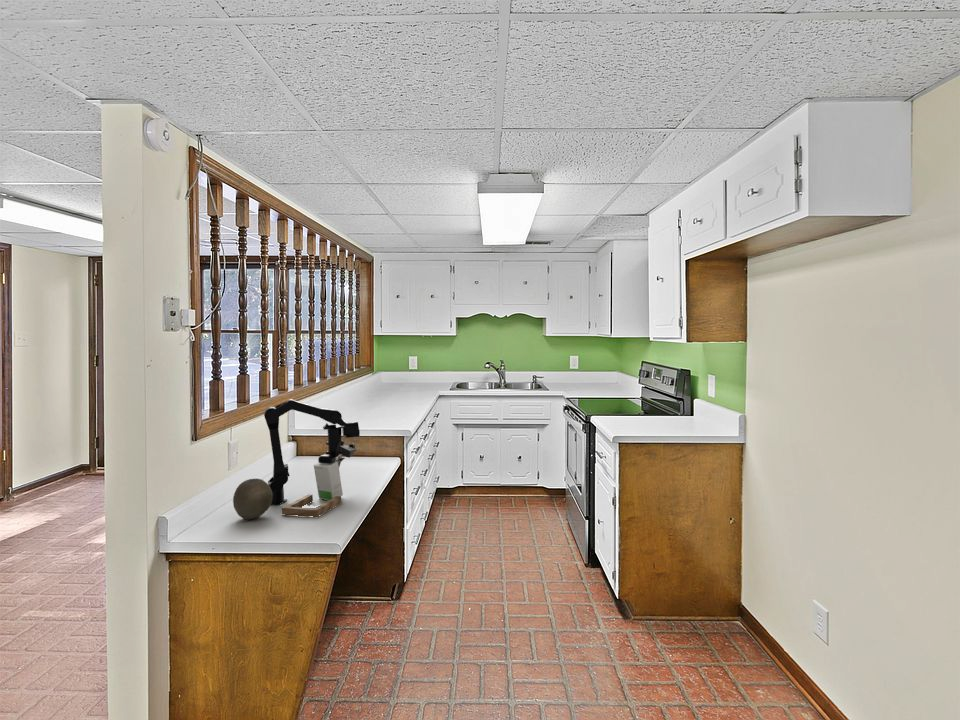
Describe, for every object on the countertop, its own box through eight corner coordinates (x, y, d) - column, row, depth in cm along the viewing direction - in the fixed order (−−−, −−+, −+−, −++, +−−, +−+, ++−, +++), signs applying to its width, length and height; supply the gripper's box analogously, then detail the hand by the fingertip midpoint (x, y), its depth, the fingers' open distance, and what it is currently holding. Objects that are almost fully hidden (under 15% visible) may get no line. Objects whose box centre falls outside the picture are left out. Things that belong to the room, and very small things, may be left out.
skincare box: (318, 499, 257) (312, 465, 254) (329, 492, 263) (322, 458, 259) (334, 501, 253) (327, 467, 250) (344, 494, 259) (338, 460, 255)
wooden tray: (317, 517, 232) (316, 510, 231) (281, 515, 235) (281, 507, 235) (341, 503, 250) (341, 496, 250) (308, 501, 254) (308, 494, 254)
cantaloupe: (231, 526, 224) (230, 485, 223) (235, 515, 237) (234, 476, 236) (272, 522, 227) (271, 482, 227) (274, 511, 241) (272, 473, 240)
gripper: (341, 443, 250) (342, 481, 251) (361, 435, 268) (362, 471, 269) (317, 442, 253) (318, 480, 253) (338, 435, 271) (339, 470, 271)
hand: (335, 475), depth 262 cm, fingers closed
